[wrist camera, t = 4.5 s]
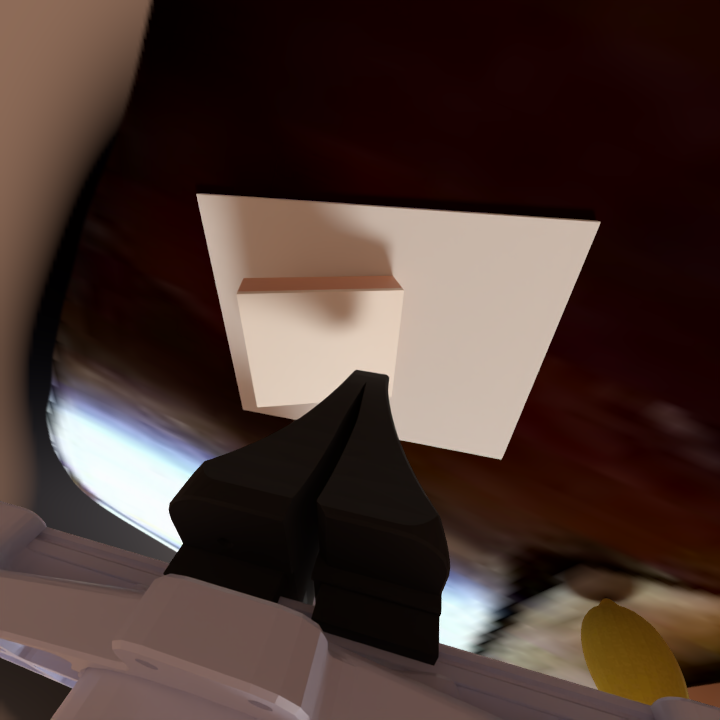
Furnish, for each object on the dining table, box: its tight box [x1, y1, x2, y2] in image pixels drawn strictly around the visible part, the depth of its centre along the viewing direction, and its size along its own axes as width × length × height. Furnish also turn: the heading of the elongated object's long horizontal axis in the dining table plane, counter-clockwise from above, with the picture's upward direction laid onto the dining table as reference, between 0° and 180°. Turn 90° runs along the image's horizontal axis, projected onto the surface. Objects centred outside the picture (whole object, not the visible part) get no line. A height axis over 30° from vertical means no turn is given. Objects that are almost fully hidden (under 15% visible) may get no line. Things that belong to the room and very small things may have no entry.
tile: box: [236, 276, 404, 407], centre depth 16 cm, size 6×2×7 cm
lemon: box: [581, 598, 689, 706], centre depth 23 cm, size 6×6×8 cm
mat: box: [196, 193, 601, 459], centre depth 18 cm, size 14×18×1 cm
